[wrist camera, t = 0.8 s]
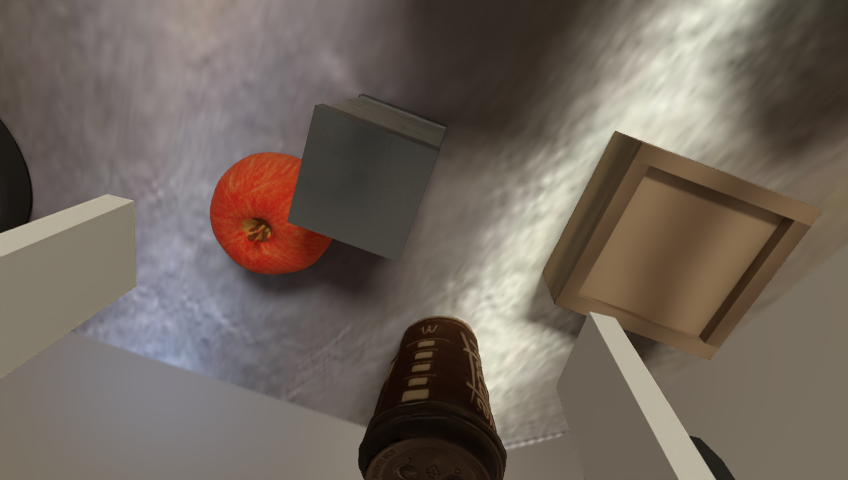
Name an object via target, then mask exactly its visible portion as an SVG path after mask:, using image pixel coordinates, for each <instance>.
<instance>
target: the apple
mask: <svg viewBox="0 0 848 480" xmlns="http://www.w3.org/2000/svg"><path fill="white" fill-rule="evenodd" d="M301 161H302V160H301V159H299V158H296V157H293V156H290V155H285V154H280V153H271V152H268V153H258V154H253V155H250V156H248V157H246V158H244V159H242V160H240V161H239V162H237V163H236V164H234V165H233V166H232V167H231V168H229V169H228V170H227V171H226V172H225V173H224V175H223V176H222V177H221V179H220V180H219V182H218V184H217V186H216V188H215V191H214V194H213V197H212V201H211V206H210V220H211V225H212V229H213V232H214V235H215V237H216V239H217V241H218V242H219V244H220V245H221V246H222V248H223V249H224V251H225V252H226V253H227V254H228V255H229V256H230V258H232V259H233V260H234V261H235V262H236V263H237V264H238V265H240V266H241V267H243V268H245V269H247V270H249V271H252V272H256V273H261V274H283V273H290V272H295V271H299V270H302V269H305V268H307V267H309V266H310V265H312V264H313V263H315V262H316V261H317V260H318V259H319V258H320V257H321V256H322V254H323V253H324V252H325V250H326V249H327V247H328V246H329V244H330V243H331V241H332V239H333V238H330V237H327V236H324V235H322V234H319V233H316V232H313V231H310V230H308V229H305V228H302V227H299V226H297V225H294V224H291V223H288V222H287V219H288V215H289V210H290V206H291V202H292V198H293V194H294V190H295V186H296V182H297V178H298V174H299V170H300V166H301Z"/></svg>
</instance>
